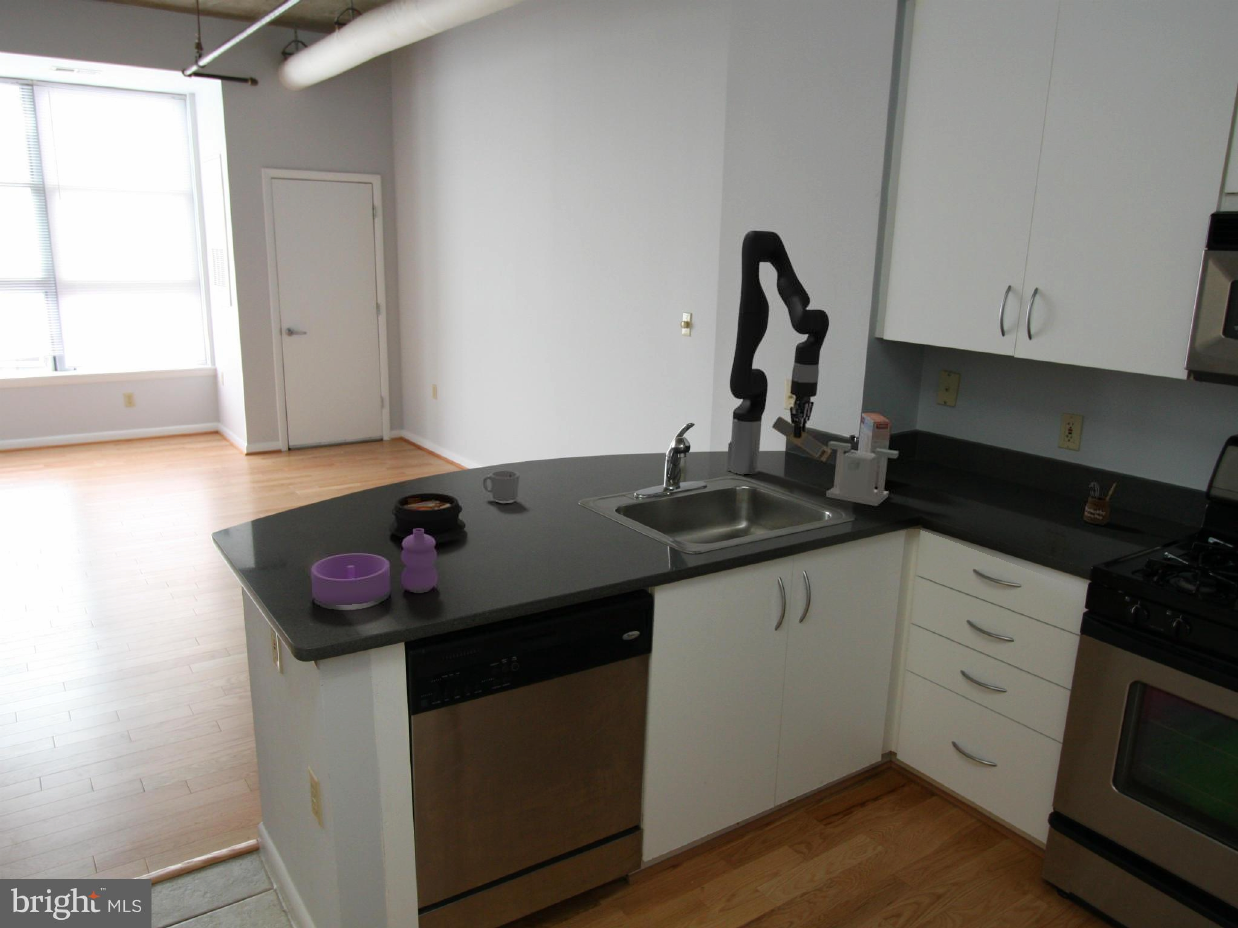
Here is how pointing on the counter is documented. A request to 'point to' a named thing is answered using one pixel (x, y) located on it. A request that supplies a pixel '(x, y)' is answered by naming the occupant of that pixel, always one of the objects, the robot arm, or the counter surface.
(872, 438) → the cracker box
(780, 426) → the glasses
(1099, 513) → the utensil holder
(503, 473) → the cup
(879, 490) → the display stand
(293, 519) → the counter surface
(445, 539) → the casserole
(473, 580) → the counter surface
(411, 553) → the container set
